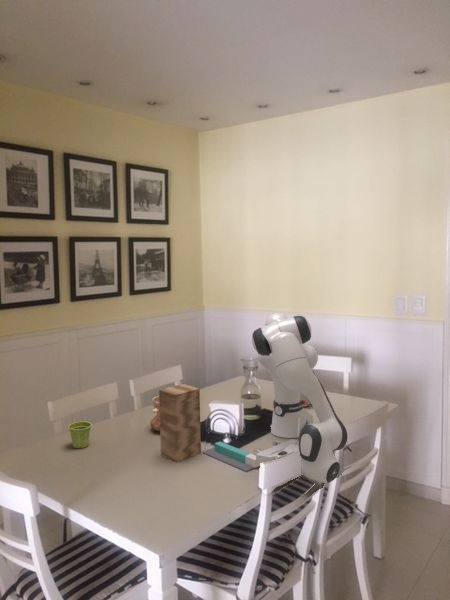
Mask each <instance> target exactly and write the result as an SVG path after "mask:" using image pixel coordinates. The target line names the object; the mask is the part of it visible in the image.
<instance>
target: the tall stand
mask: <svg viewBox="0 0 450 600" xmlns="http://www.w3.org/2000/svg"><path fill="white" fill-rule="evenodd" d="M200 390H201V389H200V388H199V387H195V386H192V385H188V384H186V383H181V384H177V385H174V386H169V387H166V388H162V389H159V390H158V396H159V403H160V432H159V433H160V434H159V435H160V437H159V438H160V455H161V456H162V457H165V458H167V459H169V460H171V461H173V462H175V463H178V462H182V461H184V460H187V459H189V458H192V457H195V456H197V455H200V454H201V453H202V449H201V448H202V445H201V443H202V442H201V436H202V435H201V396H200V393H201V392H200Z"/></svg>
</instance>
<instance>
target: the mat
mask: <svg viewBox="0 0 450 600" xmlns="http://www.w3.org/2000/svg"><path fill="white" fill-rule="evenodd" d="M202 454H204V455H206V456H208V457H211V458H213V459H215V460H218V461H220V462H222V463H224V464H227V465H229V466H231V467H233V468H236V469H238V470H240V471H242V472H244V473H248V472H250V471H252V470H254V469H257V468H260V466H258V467H256V468H254V467H252V466H249V465H247V464H245V463H242V462H240V461H238V460H235V459H233V458H230V457H228V456H226V455H223V454H221V453H219V452H216V451H215V446H214V447H212V448H209V449H207V450H204V451H202Z"/></svg>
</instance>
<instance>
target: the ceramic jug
mask: <svg viewBox="0 0 450 600" xmlns="http://www.w3.org/2000/svg"><path fill="white" fill-rule="evenodd" d="M152 406H153V408H154V409H152V413H154V414H155V413H156V415H154V416H153V417H152V418H151V420H150V422H149V424H150V427H151V429H153V430H154V431H156V432H159V433H160V403H159V395H157V396H154V397H153V398H152Z"/></svg>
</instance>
